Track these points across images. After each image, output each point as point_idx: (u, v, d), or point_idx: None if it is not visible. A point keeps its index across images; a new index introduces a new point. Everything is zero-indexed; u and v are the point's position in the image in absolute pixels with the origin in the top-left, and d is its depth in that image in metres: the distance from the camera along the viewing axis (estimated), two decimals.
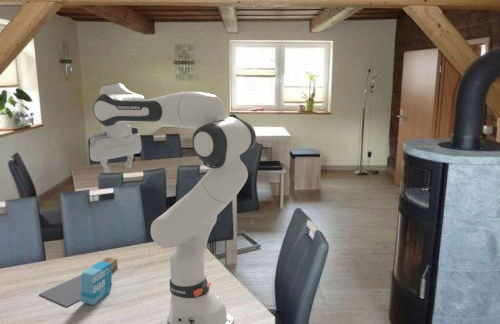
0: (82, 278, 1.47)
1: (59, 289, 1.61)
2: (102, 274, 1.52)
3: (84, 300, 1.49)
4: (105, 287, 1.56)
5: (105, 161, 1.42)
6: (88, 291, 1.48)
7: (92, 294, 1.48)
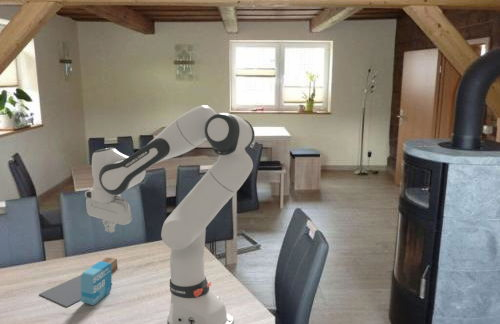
0: (82, 278, 1.47)
1: (59, 289, 1.61)
2: (102, 274, 1.52)
3: (84, 300, 1.49)
4: (105, 287, 1.56)
5: None
6: (88, 291, 1.48)
7: (92, 294, 1.48)
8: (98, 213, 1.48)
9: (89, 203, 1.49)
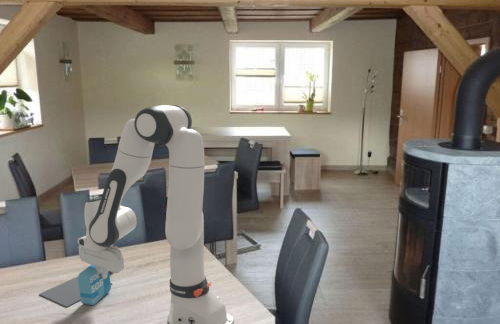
0: (79, 279, 1.47)
1: (59, 289, 1.61)
2: None
3: (84, 301, 1.49)
4: (104, 286, 1.56)
5: None
6: (86, 291, 1.48)
7: (91, 294, 1.48)
8: (91, 260, 1.50)
9: (82, 249, 1.51)
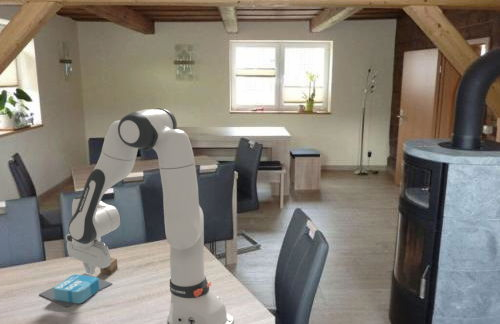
0: (56, 298, 1.52)
1: None
2: (68, 281, 1.57)
3: (76, 299, 1.50)
4: (86, 281, 1.58)
5: None
6: (65, 293, 1.51)
7: (69, 290, 1.51)
8: (78, 256, 1.53)
9: (70, 245, 1.55)
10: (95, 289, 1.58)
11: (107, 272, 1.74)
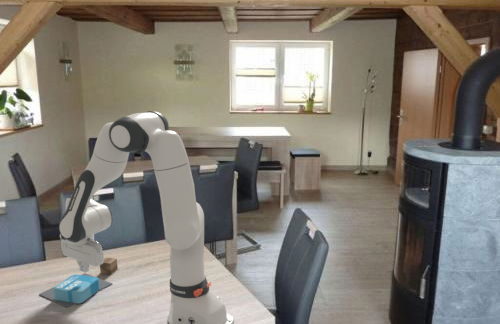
0: (56, 298, 1.52)
1: None
2: (68, 281, 1.57)
3: (76, 299, 1.50)
4: (86, 281, 1.58)
5: None
6: (65, 293, 1.51)
7: (69, 290, 1.51)
8: (72, 254, 1.55)
9: (64, 244, 1.57)
10: (95, 289, 1.58)
11: (107, 272, 1.74)
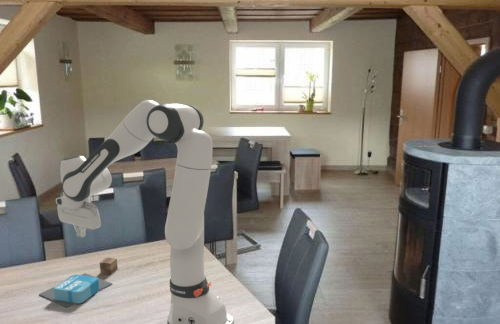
0: (56, 298, 1.52)
1: None
2: (68, 281, 1.57)
3: (76, 299, 1.50)
4: (86, 281, 1.58)
5: None
6: (65, 293, 1.51)
7: (69, 290, 1.51)
8: (69, 219, 1.53)
9: (60, 209, 1.54)
10: (95, 289, 1.58)
11: (107, 272, 1.74)
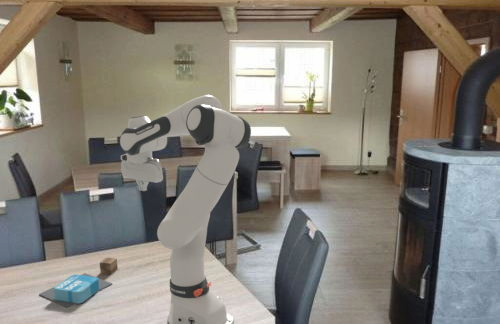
0: (56, 298, 1.52)
1: None
2: (68, 281, 1.57)
3: (76, 299, 1.50)
4: (86, 281, 1.58)
5: None
6: (65, 293, 1.51)
7: (69, 290, 1.51)
8: (132, 174, 1.68)
9: (124, 166, 1.70)
10: (95, 289, 1.58)
11: (107, 272, 1.74)
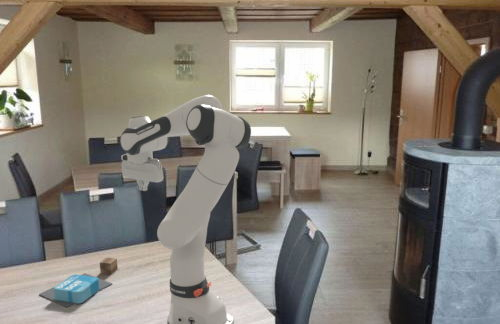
0: (56, 298, 1.52)
1: None
2: (68, 281, 1.57)
3: (76, 299, 1.50)
4: (86, 281, 1.58)
5: None
6: (65, 293, 1.51)
7: (69, 290, 1.51)
8: (133, 174, 1.69)
9: (124, 165, 1.70)
10: (95, 289, 1.58)
11: (107, 272, 1.74)
